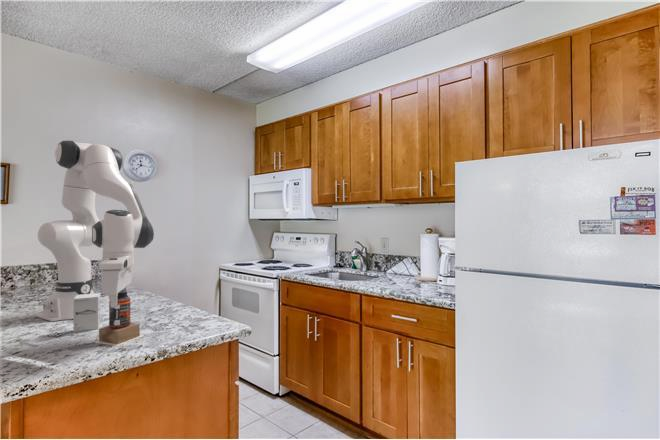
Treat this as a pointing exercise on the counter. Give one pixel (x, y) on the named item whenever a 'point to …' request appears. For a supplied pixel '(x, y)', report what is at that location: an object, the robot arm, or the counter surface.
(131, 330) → the block
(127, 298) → the supplement bottle
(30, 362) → the counter surface
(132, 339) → the build board
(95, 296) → the supplement box
